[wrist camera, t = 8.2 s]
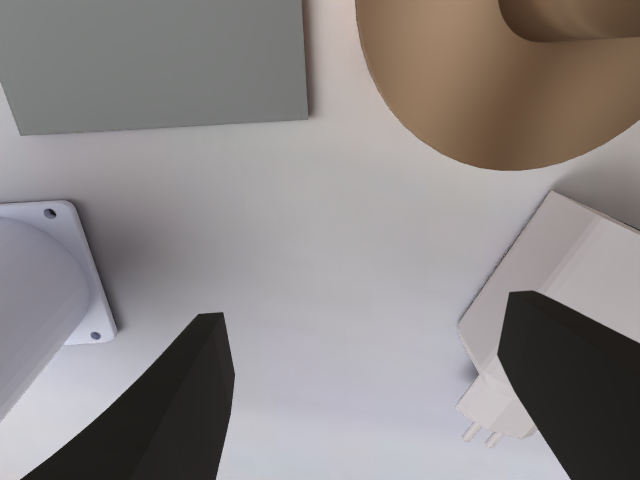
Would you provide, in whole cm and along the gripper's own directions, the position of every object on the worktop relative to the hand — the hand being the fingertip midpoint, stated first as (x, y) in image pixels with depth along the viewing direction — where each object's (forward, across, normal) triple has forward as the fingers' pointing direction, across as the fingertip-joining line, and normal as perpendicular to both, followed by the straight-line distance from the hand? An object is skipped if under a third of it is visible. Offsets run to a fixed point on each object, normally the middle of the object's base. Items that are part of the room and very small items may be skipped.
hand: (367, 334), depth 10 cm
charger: (+10, -11, +9) cm, 18 cm away
